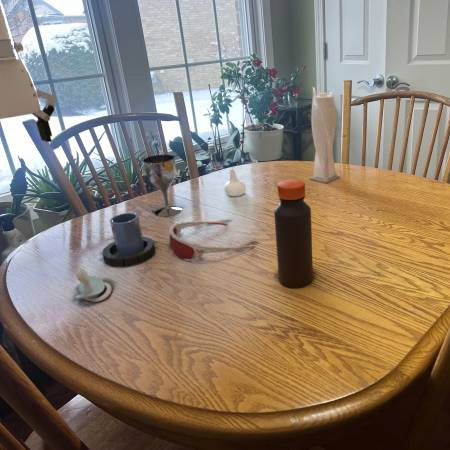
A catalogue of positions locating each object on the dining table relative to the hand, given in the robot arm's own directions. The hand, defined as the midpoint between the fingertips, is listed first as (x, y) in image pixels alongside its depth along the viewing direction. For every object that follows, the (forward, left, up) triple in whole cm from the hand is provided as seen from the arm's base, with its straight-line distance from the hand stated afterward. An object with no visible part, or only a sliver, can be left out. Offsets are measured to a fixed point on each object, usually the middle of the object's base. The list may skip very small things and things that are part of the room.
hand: (21, 146), depth 85 cm
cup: (+12, -10, -26) cm, 31 cm away
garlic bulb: (+52, -2, -26) cm, 58 cm away
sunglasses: (+25, -21, -26) cm, 42 cm away
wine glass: (+32, +4, -26) cm, 42 cm away
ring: (+12, -10, -26) cm, 30 cm away
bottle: (+25, -47, -26) cm, 59 cm away
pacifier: (-1, -19, -26) cm, 33 cm away
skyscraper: (+78, -16, -26) cm, 84 cm away
